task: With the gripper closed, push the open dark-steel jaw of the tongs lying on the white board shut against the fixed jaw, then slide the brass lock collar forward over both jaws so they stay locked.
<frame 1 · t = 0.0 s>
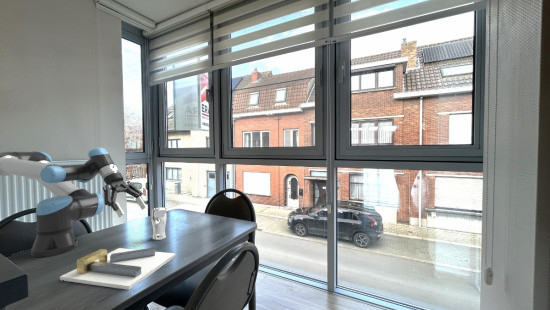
hand: (133, 211, 111), 15 cm above the table, tool tilted 35°, fingers open, 13 cm apart
lock collar: (92, 260, 86), point 4 cm above the table, slide at 0.0 cm
board: (123, 267, 89), on the table
fixed jaw: (84, 272, 85), resting on board
beer glass: (159, 238, 118), on the table
moving jaw: (133, 254, 94), point 2 cm above the table, hinge at 35.0°
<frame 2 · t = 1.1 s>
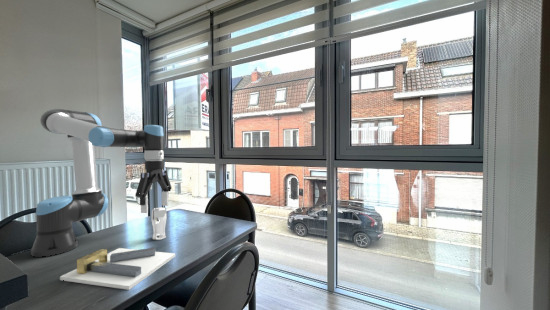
hand: (155, 208, 102), 19 cm above the table, tool pointing down, fingers open, 12 cm apart
nothing on the table moved.
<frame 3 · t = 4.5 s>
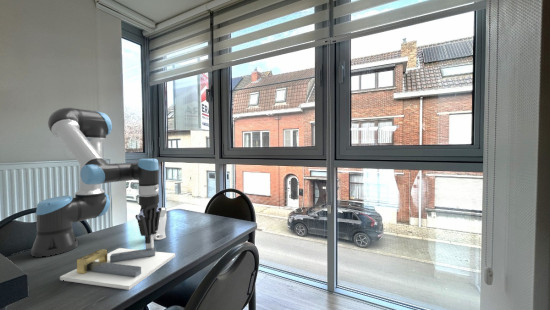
hand: (149, 249, 98), 3 cm above the table, tool pointing down, fingers closed
moving jaw: (133, 254, 93), point 3 cm above the table, hinge at 34.1°
everything else where it was.
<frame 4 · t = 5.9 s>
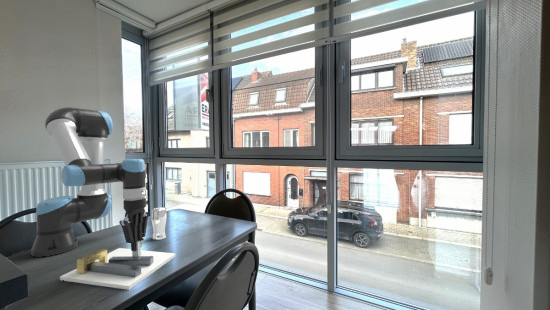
hand: (136, 257, 90), 3 cm above the table, tool pointing down, fingers closed
moving jaw: (131, 260, 88), point 3 cm above the table, hinge at 13.0°, touching gripper
everything else where it was.
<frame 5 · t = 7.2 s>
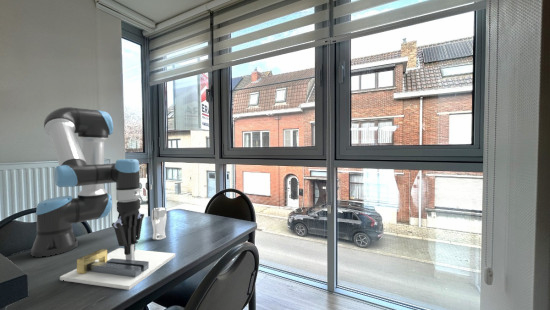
hand: (130, 261, 87), 3 cm above the table, tool pointing down, fingers closed
moving jaw: (127, 264, 85), point 3 cm above the table, hinge at 2.3°, touching gripper
everything else where it was.
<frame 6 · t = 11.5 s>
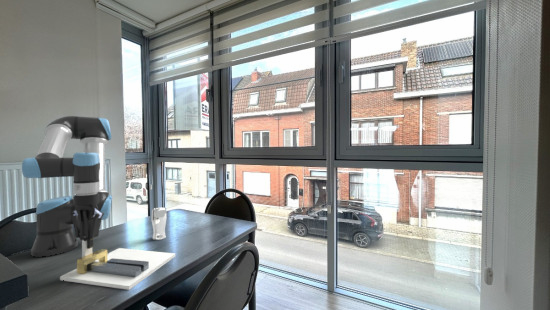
hand: (87, 256, 86), 5 cm above the table, tool pointing down, fingers closed
lock collar: (93, 260, 86), point 4 cm above the table, slide at 0.1 cm, touching gripper
moving jaw: (127, 264, 85), point 2 cm above the table, hinge at 2.2°
everything else where it was.
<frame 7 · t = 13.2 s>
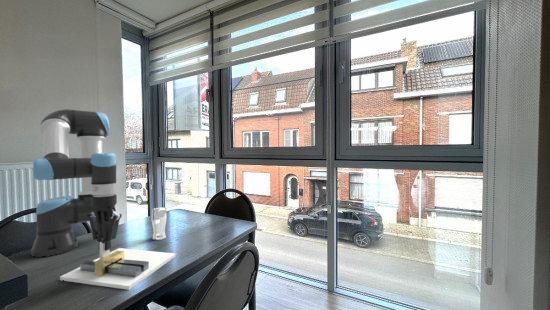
hand: (104, 258, 85), 5 cm above the table, tool pointing down, fingers closed
lock collar: (110, 262, 84), point 4 cm above the table, slide at 7.7 cm, touching gripper
everything else where it was.
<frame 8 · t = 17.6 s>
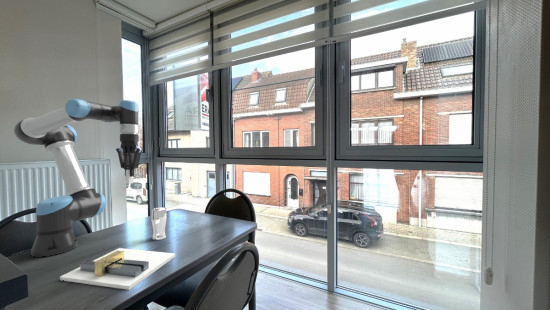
hand: (129, 183, 110), 29 cm above the table, tool pointing down, fingers closed
lock collar: (110, 262, 84), point 4 cm above the table, slide at 7.7 cm
everything else where it was.
at the end: moving jaw at +2° (first picture: +35°); lock collar slide at 7.7 cm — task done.
